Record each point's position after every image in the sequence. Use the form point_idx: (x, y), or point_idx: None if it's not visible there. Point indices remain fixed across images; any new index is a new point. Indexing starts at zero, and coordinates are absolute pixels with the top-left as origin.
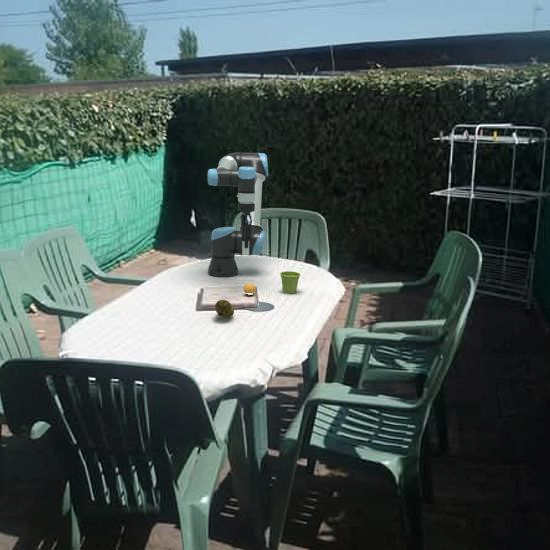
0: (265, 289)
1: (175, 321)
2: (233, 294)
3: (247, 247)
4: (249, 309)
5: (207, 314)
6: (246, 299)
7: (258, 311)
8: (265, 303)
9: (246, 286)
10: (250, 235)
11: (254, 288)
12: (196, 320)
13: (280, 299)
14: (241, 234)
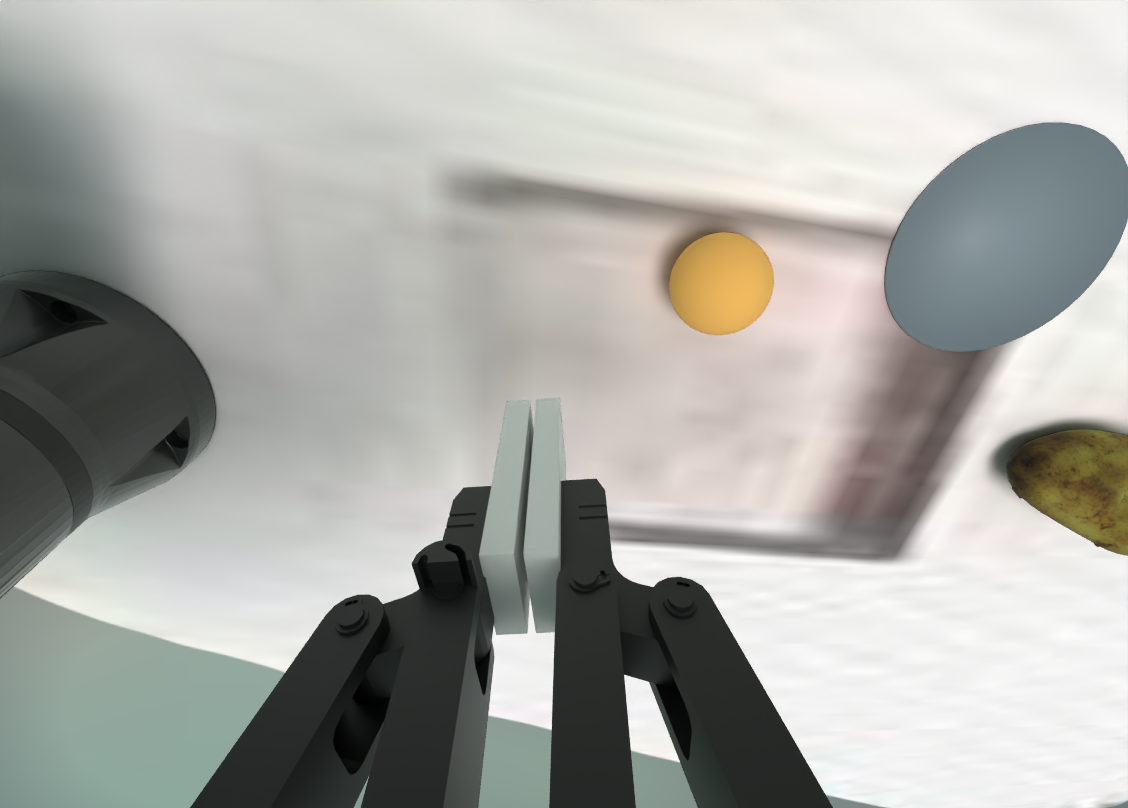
0: (557, 100)
1: (999, 627)
2: (658, 372)
3: (604, 496)
4: (1033, 322)
5: (978, 525)
6: (797, 306)
7: (1101, 269)
8: (963, 184)
9: (747, 325)
10: (760, 690)
11: (764, 255)
12: (1036, 566)
13: (900, 9)
14: (351, 727)
